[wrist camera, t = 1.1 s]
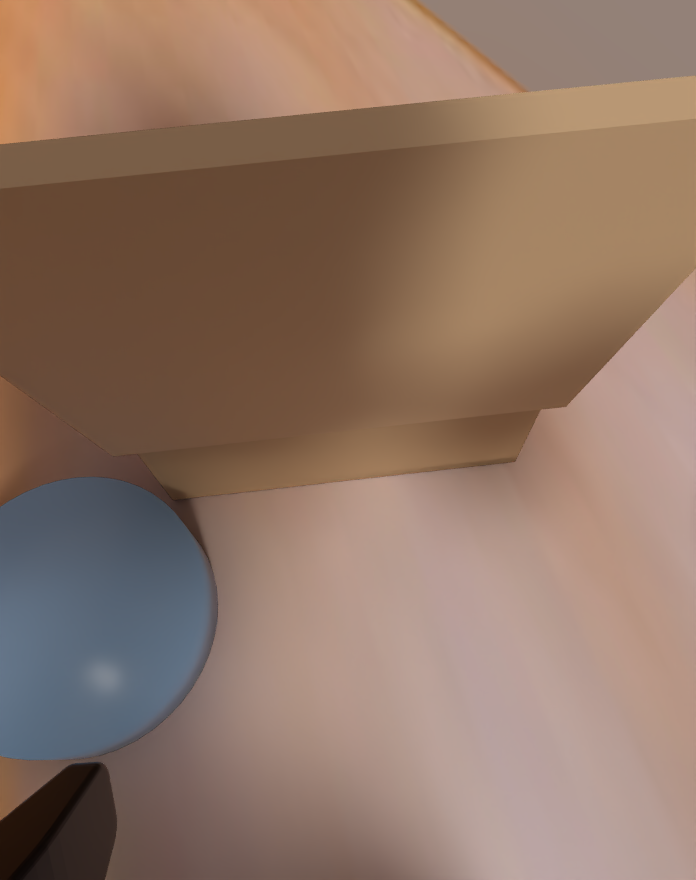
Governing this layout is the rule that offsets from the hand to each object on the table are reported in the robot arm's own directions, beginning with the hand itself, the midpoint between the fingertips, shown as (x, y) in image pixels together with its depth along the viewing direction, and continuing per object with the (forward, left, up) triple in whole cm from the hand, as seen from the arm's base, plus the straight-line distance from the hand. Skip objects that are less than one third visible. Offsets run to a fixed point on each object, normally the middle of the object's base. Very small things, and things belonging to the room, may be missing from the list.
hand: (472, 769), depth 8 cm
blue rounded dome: (-3, +10, -12) cm, 16 cm away
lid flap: (+5, +6, -1) cm, 8 cm away
